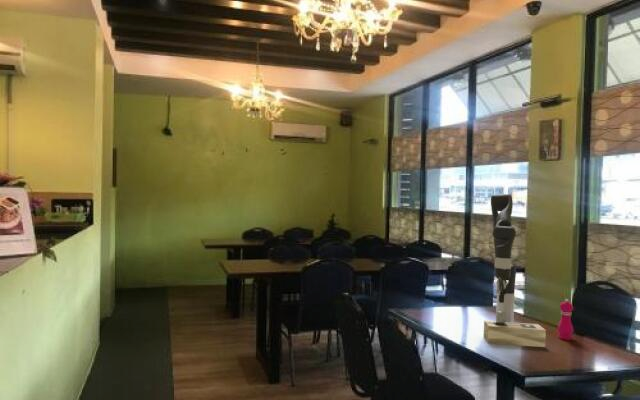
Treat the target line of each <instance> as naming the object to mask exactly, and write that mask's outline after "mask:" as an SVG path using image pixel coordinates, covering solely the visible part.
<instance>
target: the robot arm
mask: <svg viewBox="0 0 640 400" xmlns="http://www.w3.org/2000/svg"><path fill="white" fill-rule="evenodd" d="M513 205H514V202H513V196H512V195H511V194H510V193H499V194H498V193H497V194H492V195H491V196H490V209H491V215H492V226H493V227H492V228H493V231H492V237H493V245H494V271H493V273H494V276H495V278H496V279H497V280H496V292H497V293H496V311H495V312H497V311H502V312H505V322H512V323H514V315H515V314H514V313H515V312H514V311H515V310H514V309H515V290H516V289H515V287H516V278H517V277H516V276H517V268H516V265H515V264H512V247H513V244H514V240H515V238H516V234H517V232H516V229H515V227H513V226H512V212H513Z"/></svg>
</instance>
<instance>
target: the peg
mask: <svg viewBox="0 0 640 400" xmlns="http://www.w3.org/2000/svg"><path fill="white" fill-rule="evenodd" d="M495 312H496V311H495ZM495 321H496V325H505V312H502V311H497V312H496V315H495Z"/></svg>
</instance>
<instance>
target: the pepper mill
mask: <svg viewBox="0 0 640 400" xmlns="http://www.w3.org/2000/svg"><path fill="white" fill-rule="evenodd" d="M559 308H560V310H561V311H560V315H561V319H560V321H559V323H558V326H557V331H558V332H559V333H558V338H559V339H561V340H569V341H570V340H573V335H572V334H573V333H574V326H573V324H572V322H571V321H572V319H571V316H572V315H573V314H572V313H573V312H572V311H573V310H574V306H573V304H572V303H571V302H570V301H569V299H568V298H565V299H564V301H562V302H561V303H560V305H559Z"/></svg>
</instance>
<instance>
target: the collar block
mask: <svg viewBox="0 0 640 400" xmlns="http://www.w3.org/2000/svg"><path fill="white" fill-rule="evenodd" d="M524 325H531V326H532V327H524ZM546 333H547V329H545V328H544V327H542V326H541V325H539V323H525V322H513V323H512V322H505V325H496V320H495V321H494V320H483V338H484V339H485V340H486V342H487V344H498V345H500V344H501V345H508V346H524V347H539V348H546Z"/></svg>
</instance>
